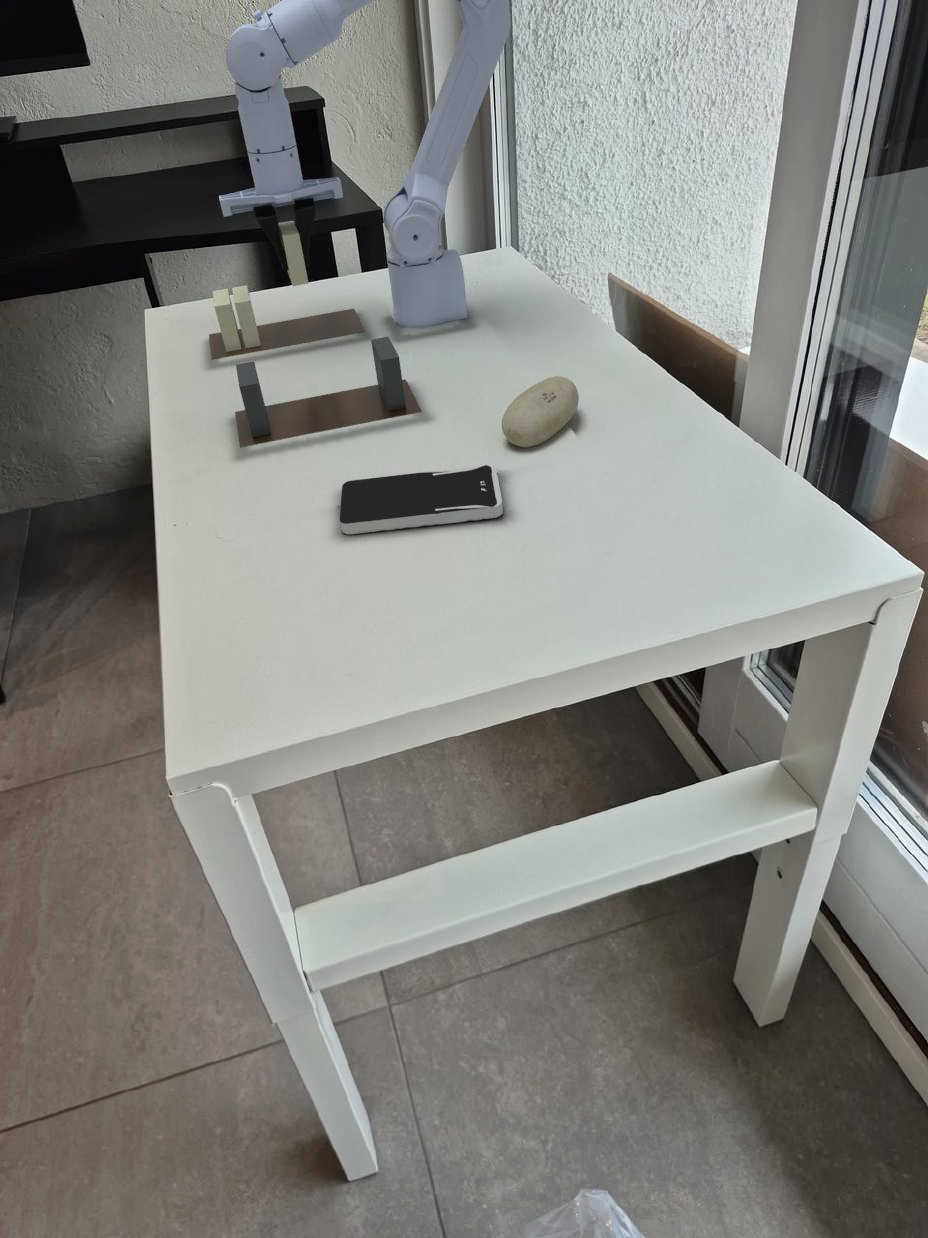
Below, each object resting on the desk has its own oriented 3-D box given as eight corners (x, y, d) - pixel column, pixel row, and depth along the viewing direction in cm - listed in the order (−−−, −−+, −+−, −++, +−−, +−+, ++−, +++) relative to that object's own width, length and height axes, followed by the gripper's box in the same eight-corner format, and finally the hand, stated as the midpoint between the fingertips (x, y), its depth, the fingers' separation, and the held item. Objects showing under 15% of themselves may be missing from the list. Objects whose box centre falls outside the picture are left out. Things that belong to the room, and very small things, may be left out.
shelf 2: (406, 386, 106) (405, 378, 105) (423, 419, 99) (422, 411, 99) (236, 419, 103) (234, 411, 103) (241, 455, 96) (239, 447, 96)
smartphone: (342, 481, 88) (495, 463, 88) (345, 493, 89) (496, 475, 89) (339, 524, 82) (502, 505, 82) (341, 536, 83) (503, 518, 83)
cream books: (257, 329, 121) (247, 284, 118) (261, 345, 117) (250, 299, 113) (224, 335, 121) (212, 290, 117) (226, 352, 116) (214, 306, 112)
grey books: (395, 386, 104) (388, 335, 100) (406, 408, 100) (399, 356, 96) (248, 414, 102) (235, 364, 98) (252, 438, 97) (239, 386, 93)
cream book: (302, 268, 117) (293, 220, 113) (308, 283, 112) (299, 233, 109) (287, 271, 117) (277, 222, 113) (292, 286, 112) (282, 236, 108)
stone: (594, 385, 96) (562, 404, 86) (571, 438, 99) (537, 463, 89) (546, 362, 97) (509, 378, 87) (525, 415, 100) (486, 437, 90)
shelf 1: (355, 315, 125) (354, 308, 125) (366, 338, 118) (365, 331, 118) (210, 341, 122) (208, 334, 122) (213, 366, 115) (211, 359, 115)
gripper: (210, 164, 101) (240, 286, 109) (338, 145, 103) (357, 266, 112) (208, 151, 106) (236, 268, 115) (329, 133, 108) (348, 249, 117)
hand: (295, 266), depth 114 cm, fingers closed on cream book, 2 cm apart
